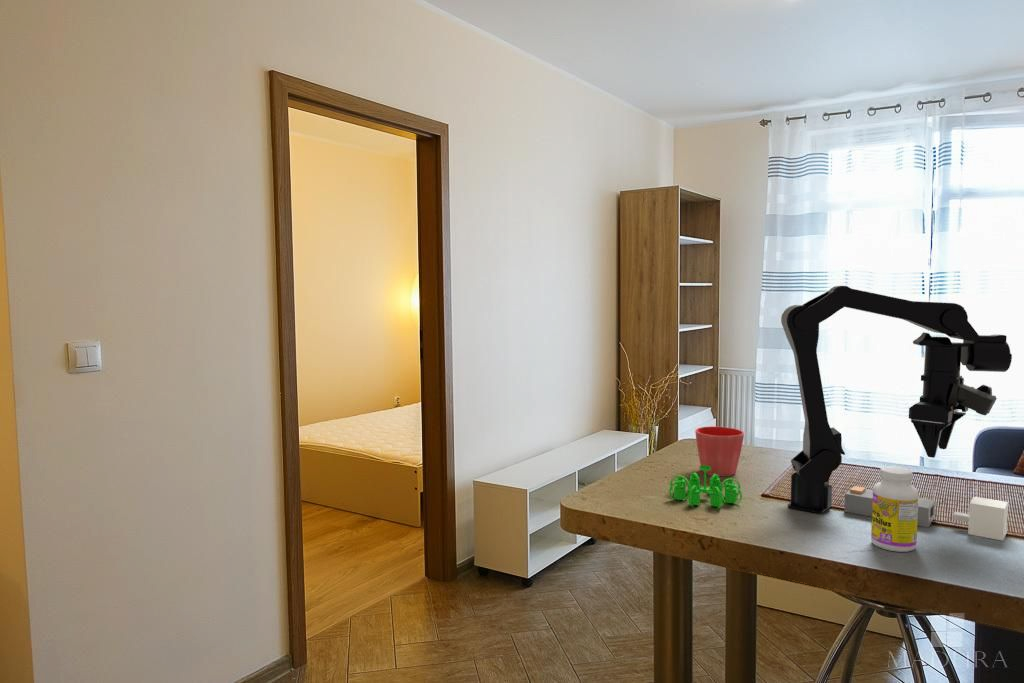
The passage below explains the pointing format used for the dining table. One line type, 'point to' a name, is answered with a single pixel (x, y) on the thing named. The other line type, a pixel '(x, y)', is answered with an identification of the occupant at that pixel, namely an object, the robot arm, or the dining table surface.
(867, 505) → the power strip
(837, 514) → the dining table surface
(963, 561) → the dining table surface
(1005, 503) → the charger
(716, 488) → the chandelier
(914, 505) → the supplement bottle
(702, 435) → the flower pot
